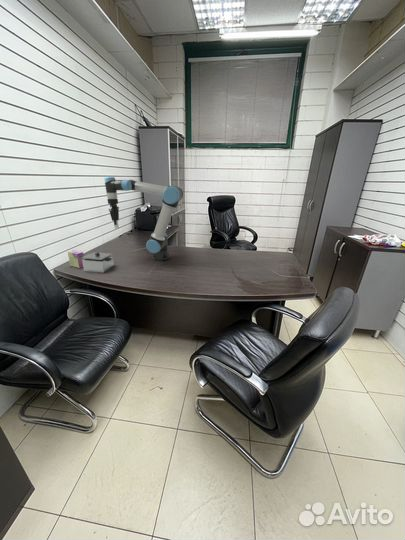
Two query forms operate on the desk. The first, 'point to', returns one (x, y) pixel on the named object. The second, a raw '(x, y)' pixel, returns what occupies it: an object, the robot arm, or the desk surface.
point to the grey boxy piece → (98, 264)
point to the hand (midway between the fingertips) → (116, 228)
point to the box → (75, 258)
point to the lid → (97, 256)
